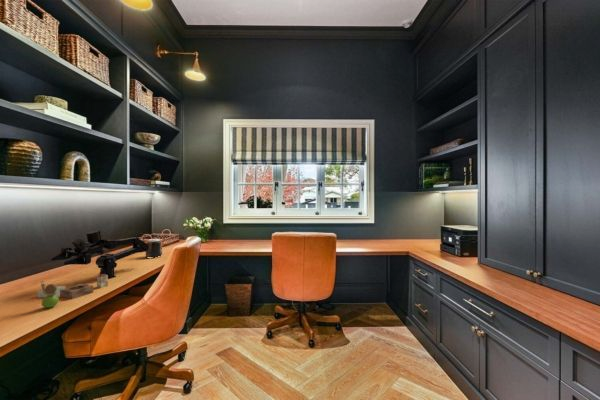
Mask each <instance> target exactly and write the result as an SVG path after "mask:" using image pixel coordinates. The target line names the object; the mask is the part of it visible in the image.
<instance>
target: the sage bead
mask: <svg viewBox="0 0 600 400" xmlns="http://www.w3.org/2000/svg"><path fill="white" fill-rule="evenodd" d="M55 286H56V288H57V289H56V291H55V292H54V293H56V294H55V295H56V296H60V290H61V289H64V288H67V287H66V285H65V286H63V285H61V286H57V285H55ZM46 296H47V295H45V294H44V293H43V291H42V289H41V290H38V291H37V298H45V297H46Z"/></svg>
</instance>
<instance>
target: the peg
mask: <svg viewBox="0 0 600 400" xmlns="http://www.w3.org/2000/svg"><path fill="white" fill-rule="evenodd" d="M108 286H109V279H108V275H106V274H102V275H100V274H98V276H96V288H99V289H104V288H106V287H108Z"/></svg>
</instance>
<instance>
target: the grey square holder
mask: <svg viewBox="0 0 600 400" xmlns="http://www.w3.org/2000/svg"><path fill="white" fill-rule="evenodd" d="M92 293H94V285H93V284H85V283H80V284H76V285H72V286H68V287H66V288H64V289H61V290H60V294H59V298H60V297H61V298H64V299H70V300H74V299H77V298H80V297H82V296H85V295H89V294H92Z"/></svg>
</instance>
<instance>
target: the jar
mask: <svg viewBox="0 0 600 400" xmlns="http://www.w3.org/2000/svg"><path fill="white" fill-rule="evenodd" d="M145 243H147V244H148V245H149V249H148V251H146V252H145V258H146V257H158V256H161V255H162V256H163V241H161V240H160V238H150V239H147V241H146V242H145Z"/></svg>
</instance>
